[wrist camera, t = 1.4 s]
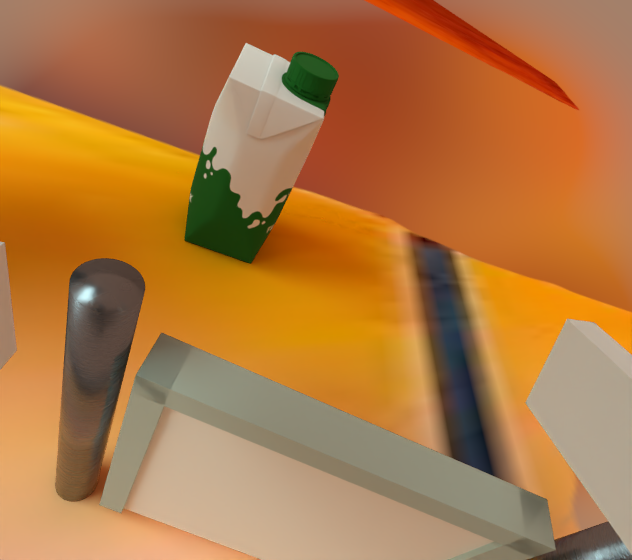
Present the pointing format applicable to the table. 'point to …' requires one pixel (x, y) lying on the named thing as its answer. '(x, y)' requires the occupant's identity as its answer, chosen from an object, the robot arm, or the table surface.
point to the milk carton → (256, 149)
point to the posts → (107, 375)
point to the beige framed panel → (301, 474)
